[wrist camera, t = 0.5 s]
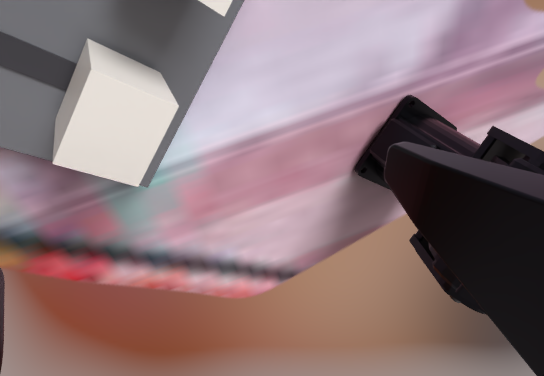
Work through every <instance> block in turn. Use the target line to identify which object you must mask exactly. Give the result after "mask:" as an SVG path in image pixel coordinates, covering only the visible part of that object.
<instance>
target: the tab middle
mask: <svg viewBox="0 0 544 376" xmlns="http://www.w3.org/2000/svg"><path fill="white" fill-rule="evenodd" d="M198 1H200V2H202V3H203V4H205V5H206V6H208V7H210V8H211V9H213V10H214V11H216V12H218V13H219V14H221V15H222V16H225V14H226V12H227V10H228V8H229V6H230V5H231V3H232V1H233V0H198Z"/></svg>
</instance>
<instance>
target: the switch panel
mask: <svg viewBox="0 0 544 376" xmlns="http://www.w3.org/2000/svg"><path fill="white" fill-rule="evenodd" d="M243 2H244V0H233V1H232V3H231V5H230V6H229V8H228V10H227V12H226V14H225V16H222V15H221V14H219V13H218V12H216V11H214V10H213V9H211V8H210V7H208V6H206V5H205V4H203V3H202V2H200V1H198V0H0V147H2V148H5V149H9V150H13V151H16V152H20V153H24V154H27V155H31V156H35V157H38V158H42V159H46V160H49V161H53V149H54V135H55V121H56V116H57V114H58V111H59V109H60V106H61V104H62V101H63V99H64V96H65V94H66V91H67V88H68V86H69V83H70V81H71V78H72V76H73V73H74V71H75V68H76V66H77V63H78V61H79V58H80V56H81V53H82V50H83V48H84V45H85V43H86V40H87V38H88V39H90V40H92V41H94V42H96V43H99V44H101V45H103V46H105V47H107V48H109V49H111V50H113V51H116V52H118V53H120V54H122V55H124V56H126V57H128V58H131V59H133V60H135V61H137V62H139V63H141V64H143V65H145V66H148V67H150V68H152V69H154V70H156V71H158V72H160V73H161V75H162V76H163V78H164V80H165V82H166V84H167V85H168V87H169V89H170V91H171V93H172V94H173V96H174V98H175V100H176V102H177V104H178V105H179V107H178V109H177V111H176V113H175V115H174V117H173V119H172V121H171V123H170V125H169V127H168V129H167V131H166V133H165V135H164V137H163V139H162V141H161V143H160V145H159V147H158V149H157V151H156V153H155V155H154V157H153V159H152V161H151V163H150V165H149V167H148V169H147V171H146V172H145V174H144V176H143V178H142V180H141V182H140V184H139V185H141V186H144V187H148V186H149V184H150V182H151V180H152V178H153V176H154V174H155V172H156V170H157V169H158V167H159V165H160V163H161V161H162V159H163V157H164V155H165V153H166V151H167V149H168V147H169V145H170V143H171V141H172V139H173V138H174V136H175V134H176V132H177V130H178V128H179V126H180V124H181V122H182V120H183V118H184V116H185V114H186V112H187V110H188V108H189V107H190V105H191V103H192V101H193V99H194V97H195V95H196V93H197V91H198V89H199V87H200V85H201V83H202V81H203V79H204V77H205V76H206V74H207V72H208V70H209V68H210V66H211V64H212V62H213V60H214V58H215V56H216V54H217V52H218V50H219V48H220V46H221V45H222V43H223V41H224V39H225V37H226V35H227V33H228V31H229V29H230V27H231V25H232V23H233V21H234V19H235V17H236V15H237V14H238V12H239V10H240V8H241V6H242V4H243Z"/></svg>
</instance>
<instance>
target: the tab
mask: <svg viewBox="0 0 544 376" xmlns="http://www.w3.org/2000/svg"><path fill="white" fill-rule="evenodd" d="M178 107H179V105H178V104H177V102H176V100H175V98H174V96H173V94H172V93H171V91H170V89H169V87H168V85H167V84H166V82H165V80H164V78H163V76H162V75H161V73H160V72H158V71H156V70H154V69H152V68H150V67H148V66H145V65H143V64H141V63H139V62H137V61H135V60H133V59H131V58H128V57H126V56H124V55H122V54H120V53H118V52H116V51H113V50H111V49H109V48H107V47H105V46H103V45H101V44H99V43H96V42H94V41H92V40H90V39H88V38H87V40H86V43H85V45H84V48H83V50H82V53H81V56H80V58H79V61H78V63H77V66H76V68H75V71H74V73H73V76H72V78H71V81H70V83H69V86H68V88H67V91H66V94H65V96H64V99H63V101H62V104H61V106H60V109H59V111H58V114H57V116H56V121H55V135H54V149H53V163H52V164H55V165H58V166H62V167H66V168H69V169H73V170H77V171H81V172H84V173H88V174H92V175H95V176H99V177H103V178H106V179H110V180H114V181H118V182H121V183H125V184H129V185H132V186H136V187H138V186H139V184H140V182H141V180H142V178H143V176H144V174H145V172H146V171H147V169H148V167H149V165H150V163H151V161H152V159H153V157H154V155H155V153H156V151H157V149H158V147H159V145H160V143H161V141H162V139H163V137H164V135H165V133H166V131H167V129H168V127H169V125H170V123H171V121H172V119H173V117H174V115H175V113H176V111H177V109H178Z"/></svg>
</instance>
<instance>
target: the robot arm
mask: <svg viewBox="0 0 544 376" xmlns="http://www.w3.org/2000/svg"><path fill="white" fill-rule="evenodd" d="M409 103H410V104H409ZM487 134H488V136H487V137H486V138H485V140H484V141H483V142H482V144H481V145H480V144H478V143H477V142H475V141H473V140H471V139H470V138H468V137H466V136H464V135H463V134H461V133H459V132H457V128H456V127H455V126H454V125H453V124H451V123H450V122H449V121H447V120H446V119H445V118H443V117H442V116H441V115H439V114H438V113H436V112H435V111H434V110H432V109H431V108H430V107H428V106H427V105H426V104H424V103H423V102H422V101H420V100H419V99H418V98H416V97H414V96H412V95H408V96H406V97H405V98H404V99H403V101H402V102H401V104H400V105H399V106H398V108H397V109H396V111H395V112H394V113H393V115H392V116H391V118H390V119H389V120H388V122H387V123H386V125H385V126H384V127H383V129H382V130H381V132H380V133H379V135H378V136H377V137H376V139H375V140H374V142H373V143H372V144H371V146H370V147H369V149H368V150H367V151H366V153H365V154H364V156H363V157H362V158H361V160H360V161H359V163H358V164H357V165H356V167H355V172H356V173H357V174H358V175H359V176H361V177H363V178H365V179H368V180H370V181H372V182H374V183H377V184H379V185H381V186H383V187H386V188H388V189H390V190H392V191H393V193H394V194H395V196H396V198H397V199H398V201H399V202H400V204H401V205H402V207H403V208H404V210H405V211H406V213H407V214H408V216H409V217H410V219H411V220H412V222H413V223H414V224H415V226H416V227H417V229H418V232H417V233H416V234H414V235H413V236H412V237H411V239H410V243H411V244H412V245H413V247H414V248H415V250H416V252H417V254H418V255H419V256H420V258H421V259H422V260H423V262H424V263H425V264H426V266H427V268H428V269H429V270H430V272H431V273H432V274H433V276H434V277H435V279H436V280H437V281H438V283H439V284H440V286H441V287H442V289H443V290H444V291H445V292H446V293H447V294H448V295H450V297H451V298H452V299H453V300H454V301H455V302H457V303H462V304H464V305H466V306H467V307H469V308H471V309H473V310H475V311H477V312H479V313H482V314H486V315H488V316H489V318H490V319H491V320H492V321H493V322H494V324H495V325H496V326H497V327H498V329H499V330H500V331H501V332H502V334H503V335H504V336H505V337H506V338H507V340H508V341H509V342H510V343H511V345H512V346H513V347H514V348H515V350H516V351H517V352H518V353H519V355H520V356H521V357H522V358H523V359H524V361H525V362H526V363H527V364H528V366H529V367H530V368H531V369H532V370H533V372H534V373H535V374H536V375H537V376H544V152H543V151H541V150H540V149H537V148H535V147H534V146H532V145H530V144H528V143H526V142H524V141H522V140H520V139H518V138H516V137H514V136H512V135H510V134H508V133H506V132H504V131H502V130H500V129H498V128H496V127H494V126H492V127H491V129H490V130H489V132H488V133H487ZM362 168H363V169H362ZM3 344H4V275H3V272H2V270H1V268H0V372H1V366H2V358H3Z"/></svg>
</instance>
